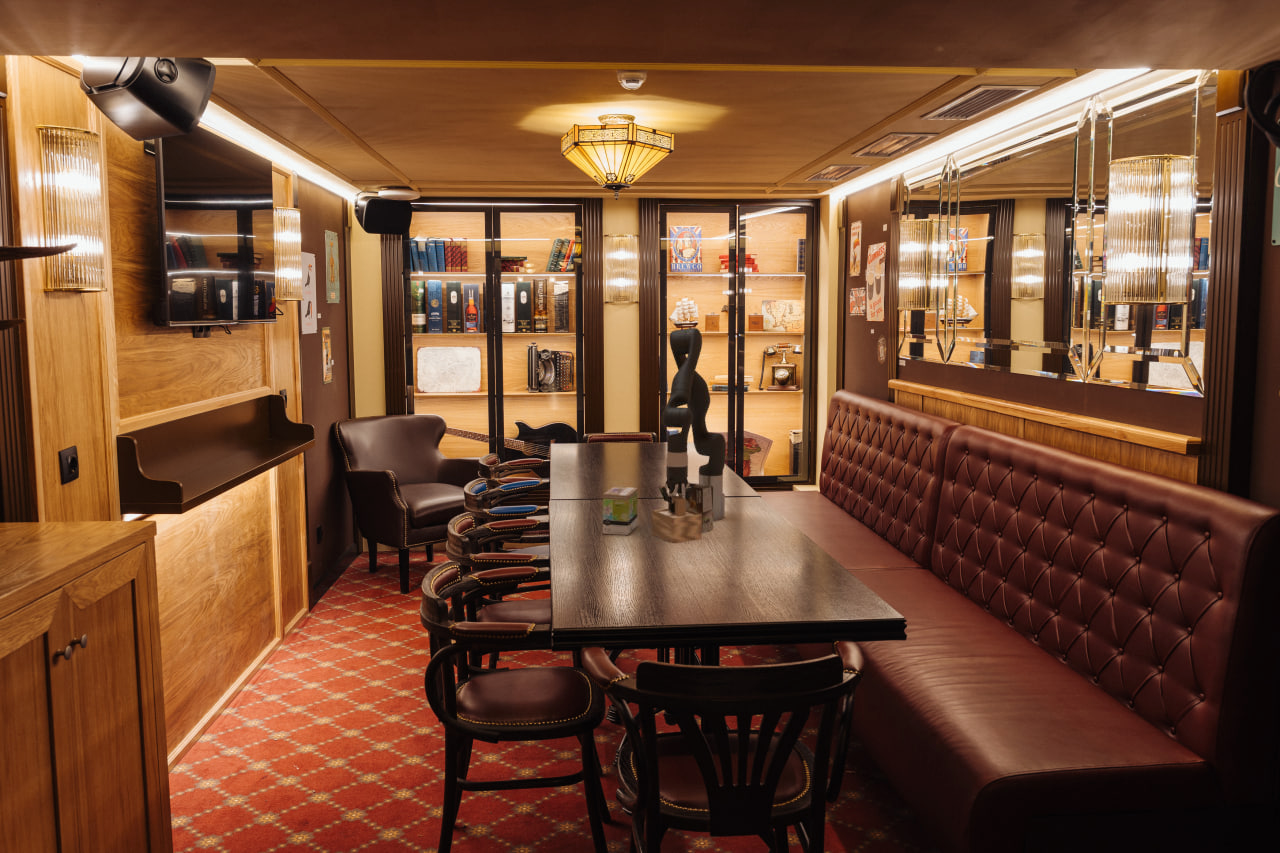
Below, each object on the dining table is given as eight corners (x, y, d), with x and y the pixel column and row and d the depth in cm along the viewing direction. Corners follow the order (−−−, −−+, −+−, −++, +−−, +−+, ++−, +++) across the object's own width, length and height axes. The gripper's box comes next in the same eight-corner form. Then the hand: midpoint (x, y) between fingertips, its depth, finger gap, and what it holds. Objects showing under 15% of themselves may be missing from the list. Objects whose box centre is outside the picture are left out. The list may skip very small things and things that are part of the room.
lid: (680, 512, 319) (680, 493, 318) (697, 518, 308) (698, 499, 308) (656, 515, 314) (656, 495, 313) (673, 522, 304) (673, 502, 303)
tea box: (629, 535, 313) (629, 494, 311) (602, 534, 315) (601, 493, 313) (638, 525, 328) (638, 486, 326) (611, 524, 330) (611, 485, 328)
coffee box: (713, 529, 323) (714, 486, 321) (702, 532, 318) (703, 488, 316) (694, 525, 329) (694, 482, 327) (683, 528, 324) (683, 485, 322)
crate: (680, 530, 321) (681, 507, 320) (701, 538, 309) (701, 514, 308) (652, 534, 315) (652, 510, 314) (672, 542, 303) (672, 518, 302)
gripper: (688, 461, 315) (688, 508, 318) (654, 464, 309) (654, 512, 311) (699, 464, 309) (699, 512, 311) (665, 467, 302) (664, 516, 304)
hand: (676, 512), depth 311 cm, fingers closed on lid, 3 cm apart
